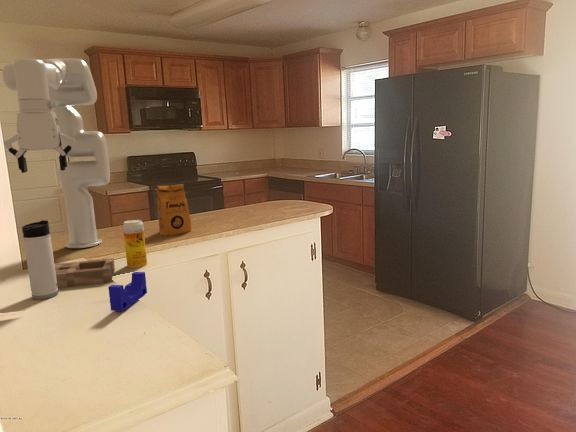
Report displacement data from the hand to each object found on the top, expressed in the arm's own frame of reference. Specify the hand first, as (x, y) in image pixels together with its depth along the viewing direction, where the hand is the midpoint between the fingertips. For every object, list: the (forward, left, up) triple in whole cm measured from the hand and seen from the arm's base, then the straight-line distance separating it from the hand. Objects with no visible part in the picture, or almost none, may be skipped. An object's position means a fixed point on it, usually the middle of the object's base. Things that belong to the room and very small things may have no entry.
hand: (44, 171), depth 124 cm
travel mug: (+9, -2, -33) cm, 34 cm away
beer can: (-10, +21, -33) cm, 40 cm away
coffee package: (-48, +34, -33) cm, 67 cm away
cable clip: (+21, +20, -33) cm, 44 cm away
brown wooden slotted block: (-3, +6, -33) cm, 33 cm away
